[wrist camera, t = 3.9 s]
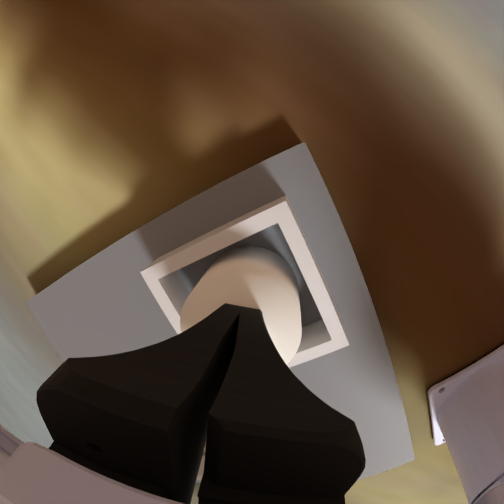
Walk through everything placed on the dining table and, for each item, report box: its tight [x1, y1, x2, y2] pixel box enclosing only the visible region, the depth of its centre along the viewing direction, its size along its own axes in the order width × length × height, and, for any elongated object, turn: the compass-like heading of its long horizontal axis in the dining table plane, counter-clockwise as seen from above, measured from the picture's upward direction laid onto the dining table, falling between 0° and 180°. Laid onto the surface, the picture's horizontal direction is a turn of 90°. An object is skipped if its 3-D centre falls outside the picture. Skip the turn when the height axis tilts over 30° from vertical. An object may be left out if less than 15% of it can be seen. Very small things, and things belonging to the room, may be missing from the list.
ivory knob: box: [180, 246, 302, 365], centre depth 12 cm, size 4×4×4 cm
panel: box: [26, 142, 415, 484], centre depth 16 cm, size 20×24×4 cm
